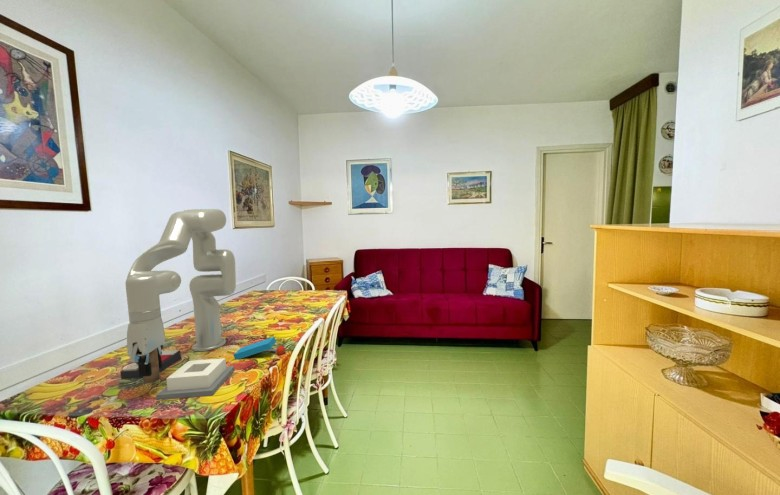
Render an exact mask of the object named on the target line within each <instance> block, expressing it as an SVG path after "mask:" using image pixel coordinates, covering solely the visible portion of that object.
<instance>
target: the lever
mask: <svg viewBox="0 0 780 495" xmlns="http://www.w3.org/2000/svg"><path fill="white" fill-rule="evenodd" d="M275 344H277V340H276V338H275V336H273V337H269V338H266V339H264V340H260V341H258V342H254V343H252V344H251V343H250V344H249V345H244V346H243V347H240V348H239V349H238V350H237V351H236V352H235V353H233V358H234V360H235V361H237V360H241V359H243V358H246V357H251V356H253V355H255V354H259V353H262V352H265V351H267V352H268V351H269V352H275V353H276V354H277V355H281V356H282V355H283V354H285V352H286V348H285V346H282V345H279V346H277V348H276V347H273V346H274V345H275Z"/></svg>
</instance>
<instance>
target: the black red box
mask: <svg viewBox="0 0 780 495" xmlns="http://www.w3.org/2000/svg"><path fill="white" fill-rule="evenodd" d="M160 356H161V360H162V367H161V368H159V372H160V373H162V372H163V371H165V370H166V369H167V368H169V367H170V366H172V365H173V364H175V363H177V362H178V361H180V360H181V359H182V354H181V350H177V349H174V350H162V355H160ZM120 377H121V380H122V379H123V380H125V379H141V378H142V379H143V377H140V376H139V369H138V365H136V363H135V362H131V364H129V365H128V366H126V367H124V368H123V369H122V370H121V371H120Z"/></svg>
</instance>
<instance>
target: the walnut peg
mask: <svg viewBox="0 0 780 495" xmlns="http://www.w3.org/2000/svg"><path fill="white" fill-rule="evenodd" d="M141 353H142V352H141ZM141 358H143V359H144V356H141ZM149 363H151V371H152V375H151V376H144V377H143V378H142V380H143V384H145V385H146V384H151V383H155V382H158V381H159V380H160V379H161V375H160V374H161V372H159V362H158V352H157V348H156V349H155V350H153V351H152V352H150V353H149Z"/></svg>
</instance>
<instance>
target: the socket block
mask: <svg viewBox="0 0 780 495" xmlns="http://www.w3.org/2000/svg"><path fill="white" fill-rule="evenodd" d="M233 372H235V365H234V366H233V365H231V366H227V364H226V358H223V357H222V358H211V359H210V358H209V359H197V360H196V359H195V360H188V361H186V362H185V363H184V364H183V365H182V366H181V367H179V368H177V369H176V371H174V372H173V373H171V374H170V375H169V376H168V377H166V386H165V387H164V388H163V389H162V390H160V391H159V392H158V393H157V394H156V395H155V399H156V401H160V399H162V400H170V399H171V400H172V399H182V398H185V399H186V398H196V397H205V396H214V394H215V393H216V392H218V390H219V388H220V387H222V385H223V384H224V383H225V382H226V381H227V379H229V377H230V376H231V375H232V374H233Z"/></svg>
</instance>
